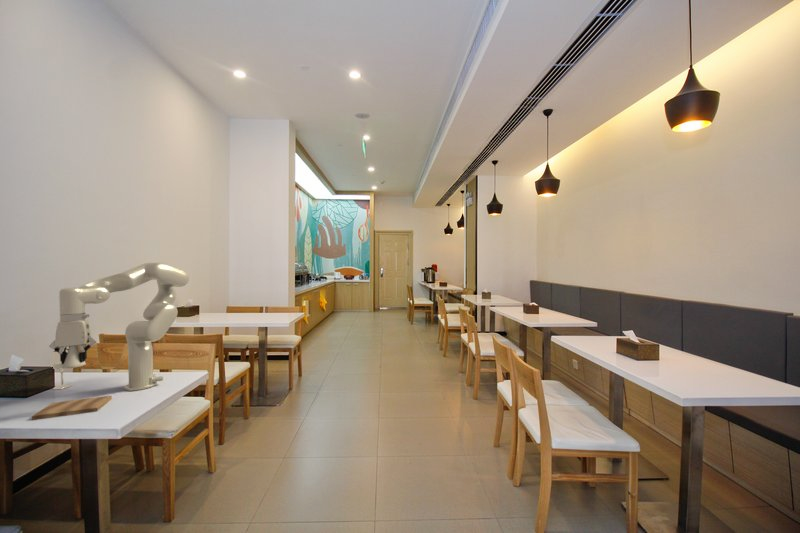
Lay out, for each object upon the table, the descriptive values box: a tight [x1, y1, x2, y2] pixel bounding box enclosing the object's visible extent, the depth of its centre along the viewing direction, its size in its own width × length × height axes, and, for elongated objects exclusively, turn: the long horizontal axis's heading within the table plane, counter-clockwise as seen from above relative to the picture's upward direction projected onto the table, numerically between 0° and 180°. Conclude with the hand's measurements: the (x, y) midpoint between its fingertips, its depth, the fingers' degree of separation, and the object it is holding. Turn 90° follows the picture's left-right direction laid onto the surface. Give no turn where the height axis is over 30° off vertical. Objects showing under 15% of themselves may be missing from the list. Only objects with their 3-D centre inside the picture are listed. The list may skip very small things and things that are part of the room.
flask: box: [61, 346, 87, 370], centre depth 142 cm, size 7×7×10 cm
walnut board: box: [31, 395, 113, 421], centre depth 142 cm, size 20×14×2 cm
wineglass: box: [49, 348, 72, 390], centre depth 169 cm, size 8×8×18 cm
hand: (73, 361), depth 142 cm, fingers closed on flask, 5 cm apart
